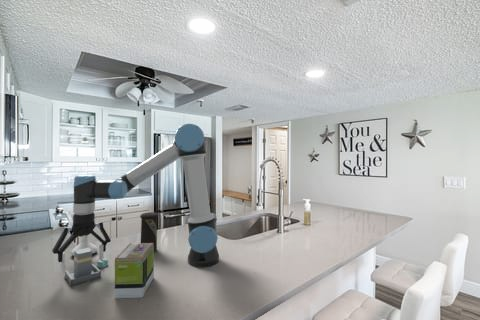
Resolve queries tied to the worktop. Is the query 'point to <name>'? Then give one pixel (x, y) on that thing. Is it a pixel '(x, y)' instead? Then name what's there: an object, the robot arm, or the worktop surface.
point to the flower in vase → (85, 245)
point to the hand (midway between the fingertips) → (82, 264)
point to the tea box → (134, 270)
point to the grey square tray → (74, 281)
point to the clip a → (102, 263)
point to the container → (149, 228)
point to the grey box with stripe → (82, 262)
